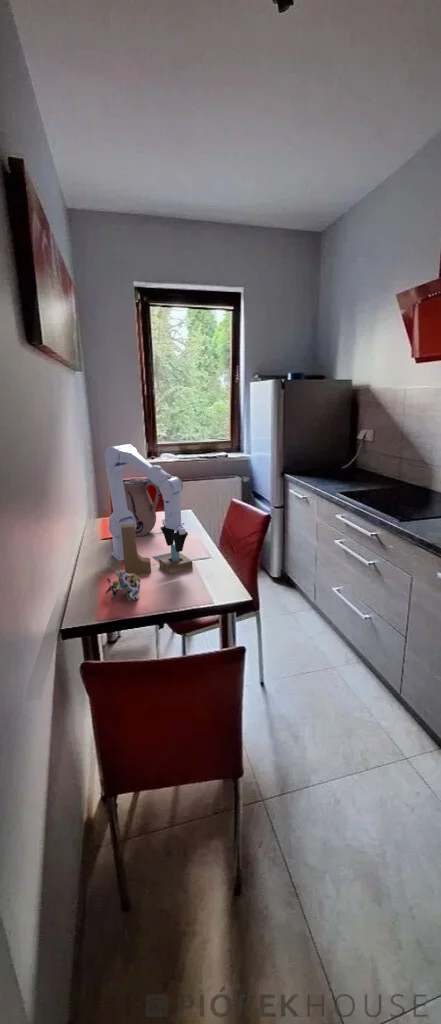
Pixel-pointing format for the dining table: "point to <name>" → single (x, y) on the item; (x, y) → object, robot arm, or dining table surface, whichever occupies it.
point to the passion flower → (126, 585)
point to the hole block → (175, 564)
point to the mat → (161, 556)
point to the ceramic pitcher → (141, 504)
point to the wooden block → (133, 552)
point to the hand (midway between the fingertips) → (174, 548)
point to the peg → (174, 554)
